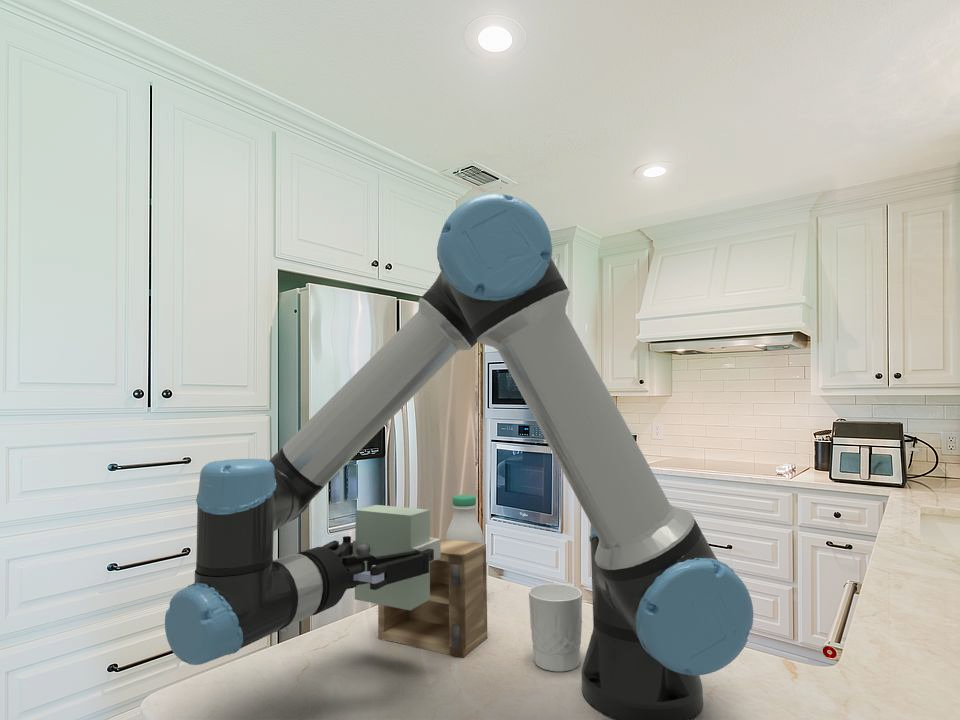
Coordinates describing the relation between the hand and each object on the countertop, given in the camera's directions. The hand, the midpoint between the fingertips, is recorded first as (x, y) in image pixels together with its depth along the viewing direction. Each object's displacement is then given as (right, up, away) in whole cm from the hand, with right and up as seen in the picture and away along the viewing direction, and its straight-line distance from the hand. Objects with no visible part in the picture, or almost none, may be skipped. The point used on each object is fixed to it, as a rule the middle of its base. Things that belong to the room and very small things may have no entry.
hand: (409, 544), depth 87 cm
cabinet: (+3, -17, +4) cm, 17 cm away
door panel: (-2, -7, -4) cm, 8 cm away
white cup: (+22, -16, -5) cm, 28 cm away
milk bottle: (+8, -18, +22) cm, 30 cm away
